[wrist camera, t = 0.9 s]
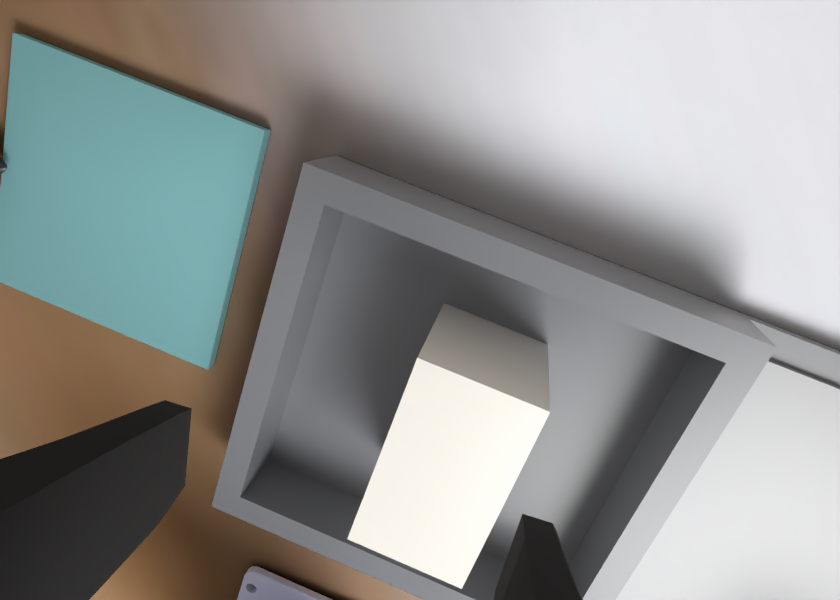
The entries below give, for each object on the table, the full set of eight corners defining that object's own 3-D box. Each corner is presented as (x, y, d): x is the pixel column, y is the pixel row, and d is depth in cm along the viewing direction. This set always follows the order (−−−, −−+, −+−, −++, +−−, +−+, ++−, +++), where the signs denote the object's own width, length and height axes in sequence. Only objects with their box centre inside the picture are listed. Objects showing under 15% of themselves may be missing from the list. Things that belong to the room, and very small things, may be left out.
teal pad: (214, 365, 24) (207, 369, 24) (3, 276, 25) (-7, 279, 25) (270, 130, 21) (265, 130, 20) (24, 34, 22) (12, 32, 21)
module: (477, 493, 24) (461, 589, 19) (385, 454, 24) (347, 539, 19) (547, 344, 21) (550, 411, 16) (444, 303, 21) (417, 357, 17)
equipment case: (920, 753, 24) (971, 839, 21) (247, 463, 26) (211, 506, 23) (1195, 488, 19) (1309, 555, 16) (335, 155, 21) (303, 162, 18)
